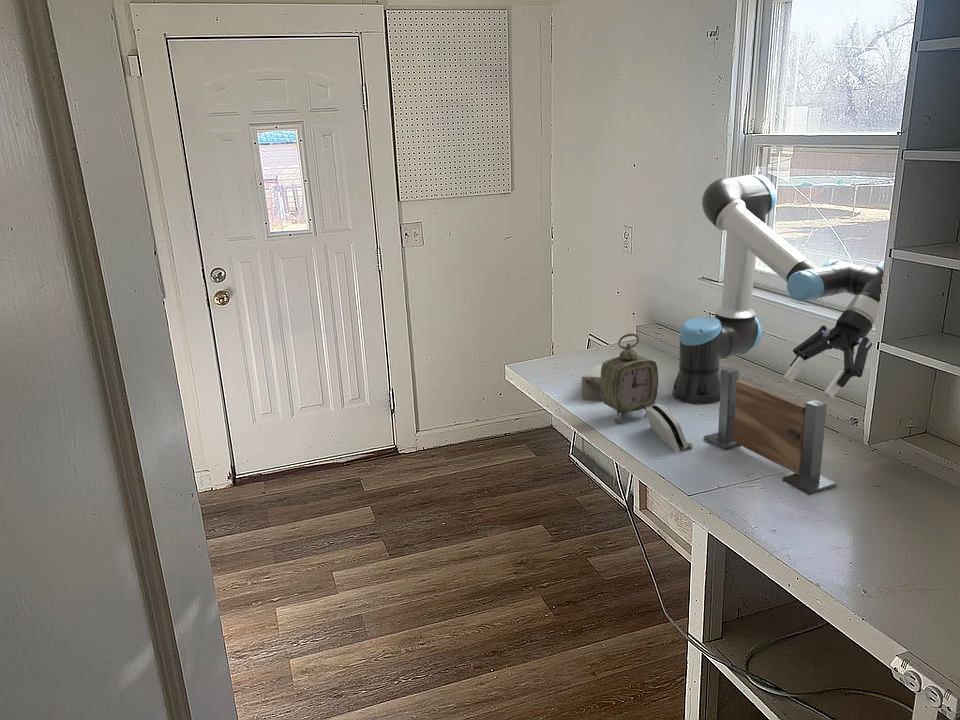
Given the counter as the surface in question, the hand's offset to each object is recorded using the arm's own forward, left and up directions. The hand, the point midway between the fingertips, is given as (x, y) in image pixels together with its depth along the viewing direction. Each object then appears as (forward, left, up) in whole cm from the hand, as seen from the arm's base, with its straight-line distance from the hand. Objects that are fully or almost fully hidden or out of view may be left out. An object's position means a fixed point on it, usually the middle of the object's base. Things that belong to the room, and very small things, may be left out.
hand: (806, 387), depth 182 cm
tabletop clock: (+12, -46, -18) cm, 51 cm away
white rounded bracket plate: (+16, -29, -18) cm, 38 cm away
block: (+1, -67, -18) cm, 69 cm away
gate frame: (+11, -4, -17) cm, 21 cm away
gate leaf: (+11, -3, -16) cm, 20 cm away
